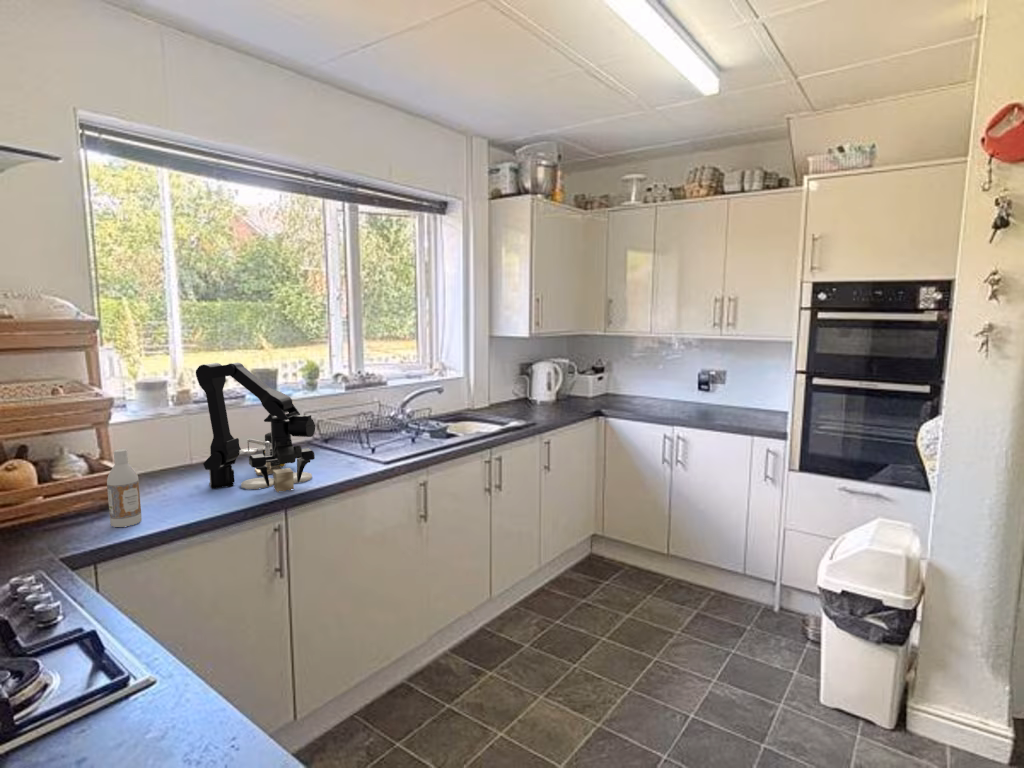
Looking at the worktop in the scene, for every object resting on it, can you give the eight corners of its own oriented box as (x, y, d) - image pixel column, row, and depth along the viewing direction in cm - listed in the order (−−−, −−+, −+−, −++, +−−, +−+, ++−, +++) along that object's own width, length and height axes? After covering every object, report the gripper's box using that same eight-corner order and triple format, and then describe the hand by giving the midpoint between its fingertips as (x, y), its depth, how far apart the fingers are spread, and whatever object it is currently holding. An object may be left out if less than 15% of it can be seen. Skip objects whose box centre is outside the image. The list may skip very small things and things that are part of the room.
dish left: (244, 491, 183) (244, 488, 183) (238, 483, 191) (238, 480, 191) (277, 486, 188) (277, 483, 188) (271, 478, 197) (271, 475, 197)
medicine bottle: (263, 468, 210) (261, 435, 208) (266, 463, 217) (264, 431, 215) (284, 466, 212) (282, 434, 210) (286, 461, 219) (285, 430, 217)
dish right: (284, 485, 190) (284, 482, 189) (277, 477, 198) (277, 474, 198) (315, 480, 195) (315, 477, 195) (307, 473, 203) (307, 470, 203)
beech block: (277, 492, 182) (276, 473, 182) (273, 488, 186) (273, 470, 186) (293, 489, 185) (293, 471, 184) (290, 485, 189) (289, 467, 188)
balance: (241, 478, 197) (239, 441, 196) (238, 474, 202) (236, 438, 201) (297, 470, 207) (296, 435, 206) (293, 466, 212) (291, 432, 211)
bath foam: (119, 530, 150) (113, 454, 148) (105, 525, 154) (98, 451, 151) (147, 521, 156) (141, 449, 154) (132, 517, 160) (126, 446, 157)
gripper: (254, 444, 172) (257, 495, 174) (318, 436, 182) (320, 485, 184) (247, 437, 181) (250, 486, 183) (308, 430, 191) (310, 477, 193)
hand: (283, 483), depth 185 cm, fingers open, 9 cm apart
